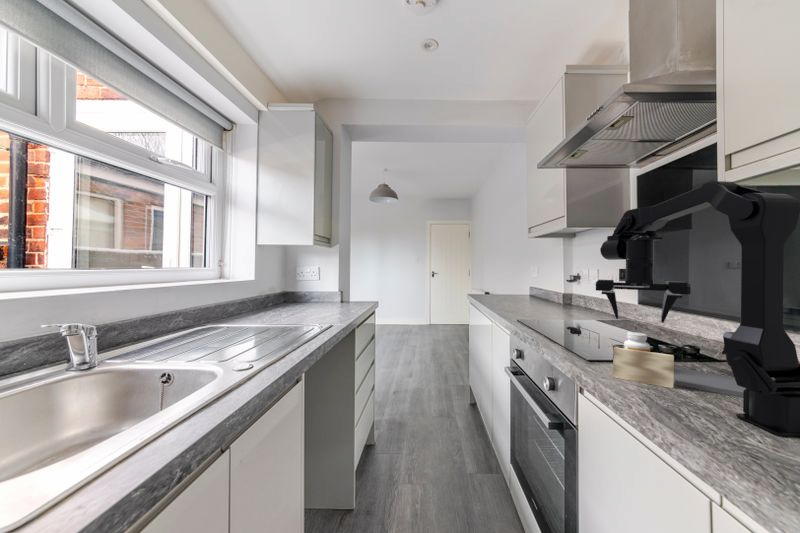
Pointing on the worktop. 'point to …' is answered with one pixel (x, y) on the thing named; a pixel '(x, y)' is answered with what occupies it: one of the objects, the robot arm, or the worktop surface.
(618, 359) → the birch screen
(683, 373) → the charcoal mat
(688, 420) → the worktop surface
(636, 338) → the supplement bottle
